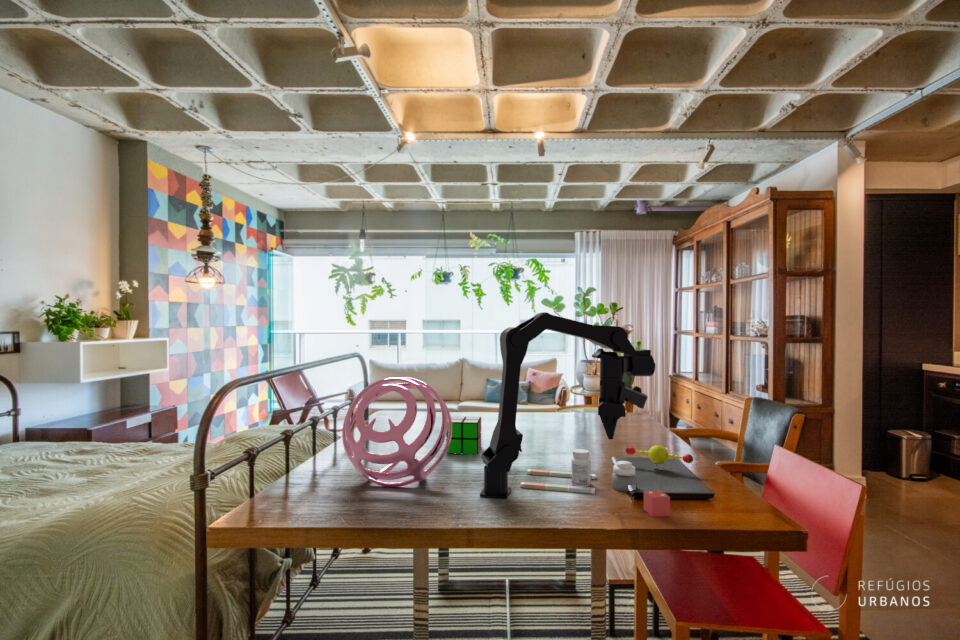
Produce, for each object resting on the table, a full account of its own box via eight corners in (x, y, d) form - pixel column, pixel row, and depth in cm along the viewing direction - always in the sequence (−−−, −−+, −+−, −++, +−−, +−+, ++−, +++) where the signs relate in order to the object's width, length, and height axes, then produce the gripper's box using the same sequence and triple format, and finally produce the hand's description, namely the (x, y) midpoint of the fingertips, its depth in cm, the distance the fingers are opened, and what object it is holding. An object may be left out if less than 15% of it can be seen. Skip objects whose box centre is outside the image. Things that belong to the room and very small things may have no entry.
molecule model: (695, 472, 134) (695, 447, 134) (691, 477, 129) (691, 451, 129) (628, 461, 143) (628, 438, 143) (623, 466, 138) (623, 442, 139)
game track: (638, 497, 114) (638, 484, 114) (520, 487, 121) (520, 475, 121) (635, 480, 126) (635, 468, 126) (527, 472, 133) (527, 461, 133)
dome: (636, 476, 118) (636, 466, 118) (613, 474, 119) (613, 465, 119) (634, 470, 123) (634, 460, 123) (613, 468, 124) (613, 459, 124)
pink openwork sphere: (390, 391, 149) (362, 345, 127) (474, 419, 141) (460, 375, 118) (344, 479, 135) (303, 444, 113) (434, 515, 127) (410, 485, 105)
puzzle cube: (481, 447, 160) (481, 416, 160) (478, 455, 150) (478, 422, 150) (451, 446, 161) (451, 416, 161) (446, 454, 151) (446, 422, 151)
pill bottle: (577, 479, 127) (577, 447, 127) (594, 483, 124) (594, 450, 124) (568, 484, 123) (568, 451, 123) (585, 488, 120) (585, 454, 120)
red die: (670, 515, 103) (670, 496, 103) (652, 516, 103) (652, 497, 103) (661, 508, 107) (661, 490, 107) (643, 509, 107) (643, 490, 107)
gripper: (649, 382, 111) (647, 451, 111) (642, 374, 129) (641, 433, 129) (598, 379, 113) (597, 447, 113) (599, 372, 132) (598, 430, 131)
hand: (610, 439), depth 122 cm, fingers closed
